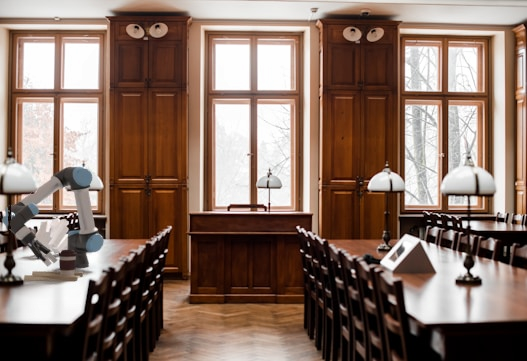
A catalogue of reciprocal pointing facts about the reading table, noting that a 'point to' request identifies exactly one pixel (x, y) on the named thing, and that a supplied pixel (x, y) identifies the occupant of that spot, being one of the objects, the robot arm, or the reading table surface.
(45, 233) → the white jagged sculpture
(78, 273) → the beech guide rails
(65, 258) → the coffee cup
